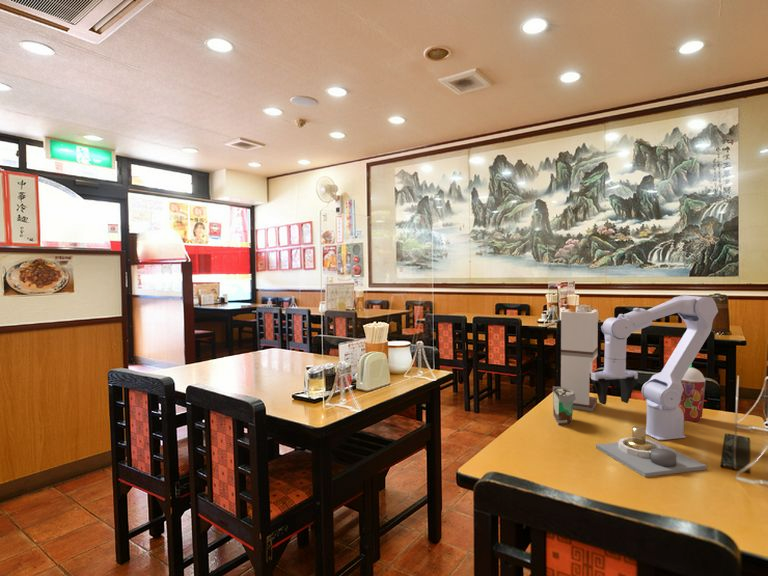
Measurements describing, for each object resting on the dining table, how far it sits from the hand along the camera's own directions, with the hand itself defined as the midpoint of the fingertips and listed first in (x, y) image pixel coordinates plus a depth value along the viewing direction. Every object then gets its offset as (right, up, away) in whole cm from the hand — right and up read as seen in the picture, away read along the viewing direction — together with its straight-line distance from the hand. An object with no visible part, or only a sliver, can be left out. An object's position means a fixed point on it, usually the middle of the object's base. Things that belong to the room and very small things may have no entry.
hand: (613, 402), depth 134 cm
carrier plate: (+2, -11, -15) cm, 18 cm away
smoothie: (+33, -9, +15) cm, 38 cm away
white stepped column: (+4, -9, +32) cm, 33 cm away
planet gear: (+1, -10, -11) cm, 15 cm away
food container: (-8, -10, +15) cm, 20 cm away
